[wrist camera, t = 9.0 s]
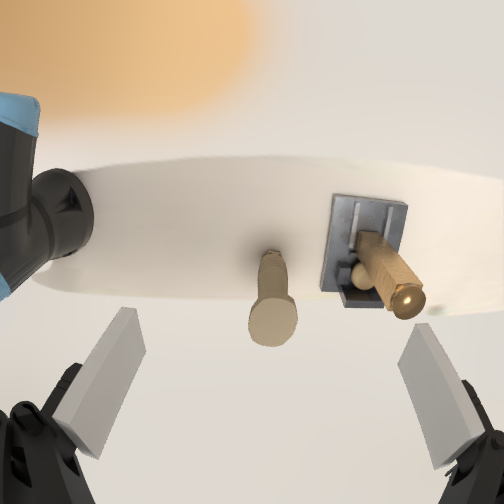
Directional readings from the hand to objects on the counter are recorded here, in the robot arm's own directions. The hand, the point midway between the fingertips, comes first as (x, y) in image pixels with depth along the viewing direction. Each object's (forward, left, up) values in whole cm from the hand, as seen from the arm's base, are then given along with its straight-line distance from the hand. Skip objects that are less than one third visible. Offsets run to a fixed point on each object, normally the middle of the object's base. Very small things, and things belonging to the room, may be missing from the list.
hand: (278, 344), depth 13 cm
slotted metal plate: (+15, -2, -29) cm, 33 cm away
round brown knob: (+16, -4, -27) cm, 32 cm away
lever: (+15, 0, -27) cm, 31 cm away
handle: (+4, -9, -29) cm, 31 cm away
